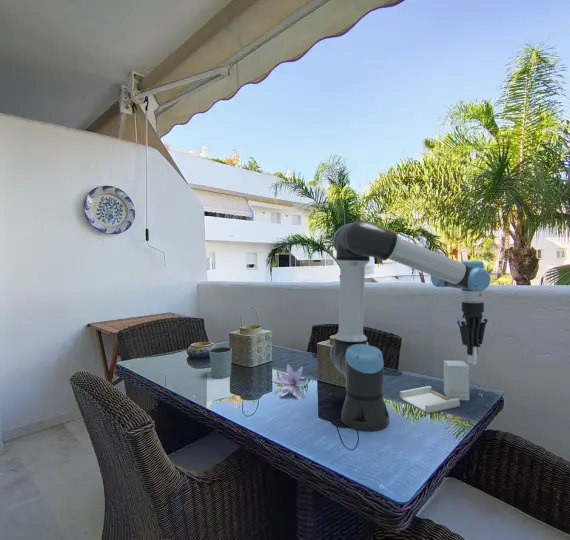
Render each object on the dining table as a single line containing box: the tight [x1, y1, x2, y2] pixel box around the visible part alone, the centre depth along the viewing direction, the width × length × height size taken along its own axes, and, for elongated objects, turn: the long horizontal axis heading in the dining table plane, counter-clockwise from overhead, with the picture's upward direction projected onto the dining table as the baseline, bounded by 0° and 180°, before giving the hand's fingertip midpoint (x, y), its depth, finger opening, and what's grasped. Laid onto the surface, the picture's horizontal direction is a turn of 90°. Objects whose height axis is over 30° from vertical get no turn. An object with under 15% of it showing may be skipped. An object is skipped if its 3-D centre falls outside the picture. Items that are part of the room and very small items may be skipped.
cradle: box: [399, 385, 461, 414], centre depth 132 cm, size 14×14×2 cm
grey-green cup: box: [208, 346, 233, 380], centre depth 165 cm, size 10×10×12 cm
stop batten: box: [430, 389, 451, 400], centre depth 135 cm, size 1×12×1 cm, turn 21°
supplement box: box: [443, 360, 470, 401], centre depth 137 cm, size 7×7×13 cm
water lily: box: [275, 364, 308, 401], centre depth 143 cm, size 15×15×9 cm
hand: (472, 363), depth 140 cm, fingers closed
